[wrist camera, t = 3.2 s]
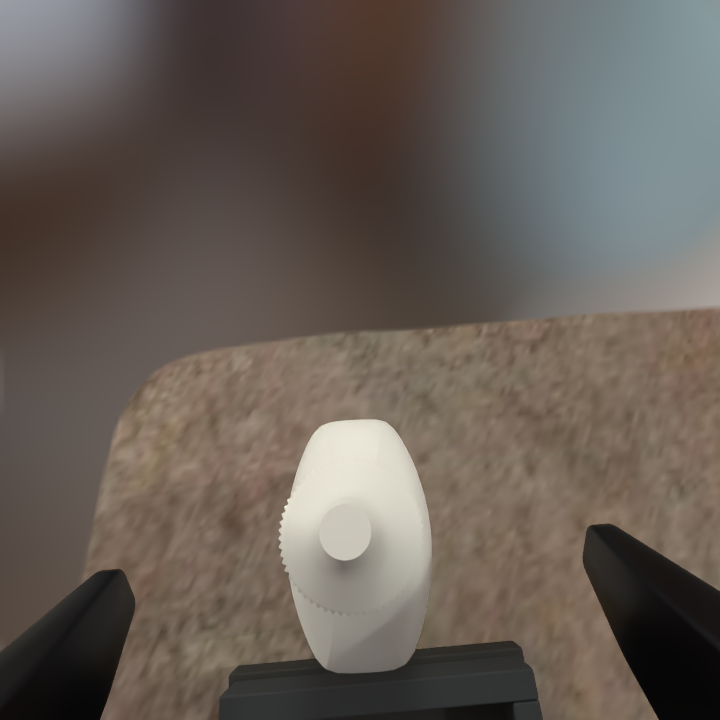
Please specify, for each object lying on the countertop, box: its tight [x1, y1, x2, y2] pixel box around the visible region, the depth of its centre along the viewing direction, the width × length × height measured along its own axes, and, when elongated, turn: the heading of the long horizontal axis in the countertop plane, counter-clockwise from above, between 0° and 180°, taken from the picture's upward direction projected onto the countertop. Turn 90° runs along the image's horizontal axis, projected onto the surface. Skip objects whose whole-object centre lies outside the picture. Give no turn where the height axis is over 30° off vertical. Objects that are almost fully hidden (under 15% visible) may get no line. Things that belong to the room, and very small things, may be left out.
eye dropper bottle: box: [278, 419, 432, 673], centre depth 11 cm, size 4×6×12 cm
